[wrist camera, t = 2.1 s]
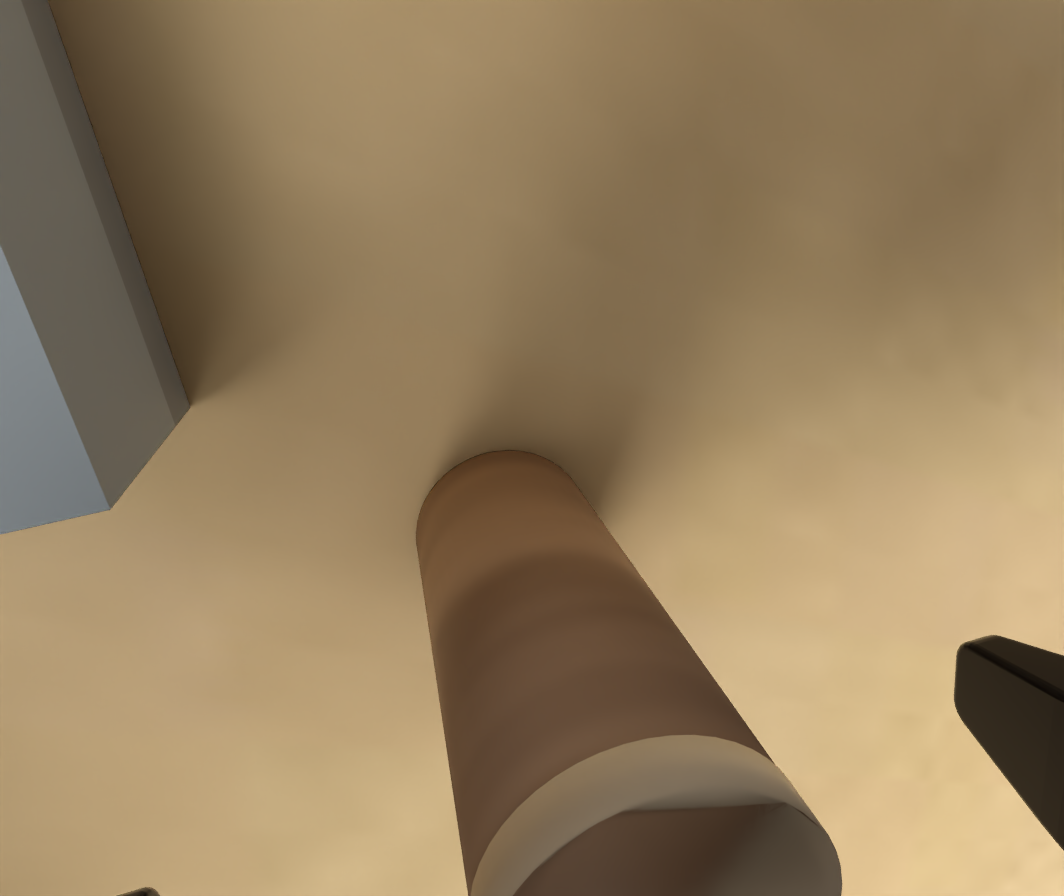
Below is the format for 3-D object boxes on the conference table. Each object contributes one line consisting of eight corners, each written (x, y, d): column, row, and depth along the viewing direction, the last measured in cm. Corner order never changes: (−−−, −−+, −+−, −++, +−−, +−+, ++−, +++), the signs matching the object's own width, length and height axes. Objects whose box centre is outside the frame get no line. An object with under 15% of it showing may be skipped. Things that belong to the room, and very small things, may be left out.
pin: (597, 584, 14) (843, 1001, 7) (435, 626, 14) (516, 1120, 7) (574, 431, 13) (840, 740, 6) (396, 472, 13) (442, 863, 5)
